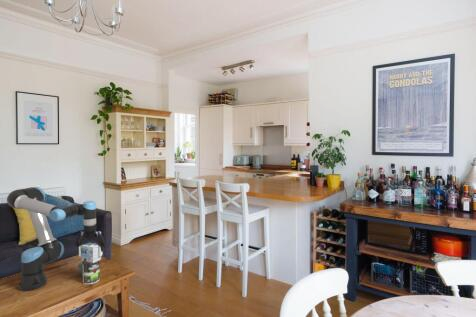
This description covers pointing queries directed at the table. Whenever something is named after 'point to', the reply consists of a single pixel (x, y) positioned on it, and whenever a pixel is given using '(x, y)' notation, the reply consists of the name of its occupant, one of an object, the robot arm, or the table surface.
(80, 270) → the grey domed cylinder
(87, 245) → the light bulb box
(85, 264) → the coffee can
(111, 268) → the table surface
